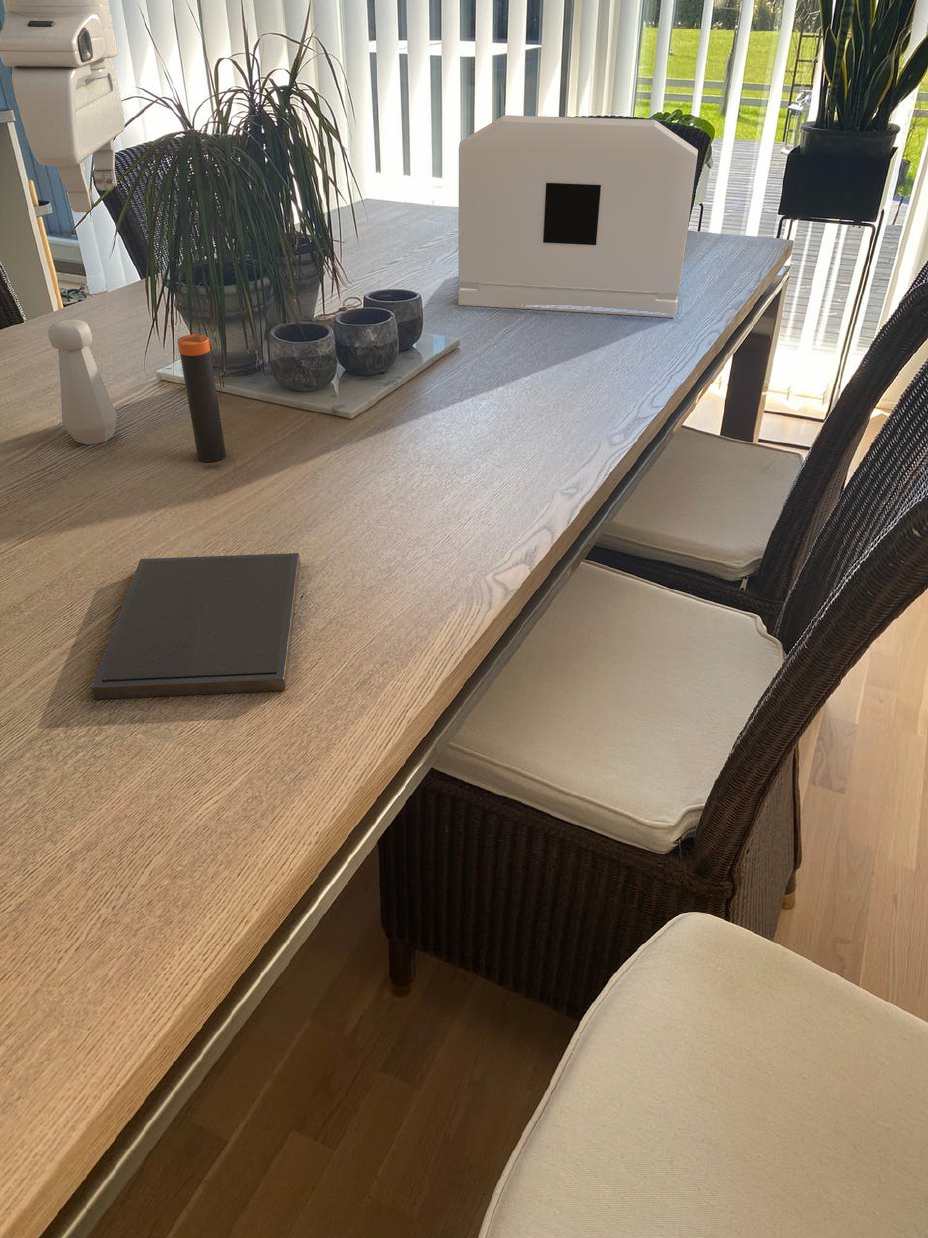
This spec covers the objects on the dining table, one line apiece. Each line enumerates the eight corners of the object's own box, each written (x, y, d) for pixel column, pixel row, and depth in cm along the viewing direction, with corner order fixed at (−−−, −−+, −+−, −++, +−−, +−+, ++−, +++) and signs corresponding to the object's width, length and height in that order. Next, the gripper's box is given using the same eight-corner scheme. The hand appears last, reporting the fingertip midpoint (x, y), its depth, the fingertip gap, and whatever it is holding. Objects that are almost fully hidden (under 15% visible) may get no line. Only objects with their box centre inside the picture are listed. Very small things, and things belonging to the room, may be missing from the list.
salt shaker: (63, 449, 105) (33, 333, 97) (70, 428, 109) (41, 316, 102) (118, 445, 106) (92, 329, 98) (123, 424, 110) (98, 312, 103)
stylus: (195, 463, 102) (174, 344, 95) (199, 450, 105) (179, 334, 97) (224, 462, 102) (206, 343, 95) (228, 449, 105) (210, 333, 97)
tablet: (94, 700, 70) (90, 686, 69) (142, 569, 85) (139, 557, 84) (285, 691, 71) (283, 677, 70) (300, 563, 86) (299, 551, 85)
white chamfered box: (675, 274, 162) (697, 99, 147) (675, 318, 143) (702, 122, 127) (482, 264, 167) (485, 93, 152) (458, 305, 147) (458, 114, 132)
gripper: (59, 25, 93) (89, 177, 101) (-11, 43, 77) (32, 224, 85) (124, 26, 94) (149, 177, 102) (68, 44, 77) (104, 224, 85)
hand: (95, 199), depth 93 cm, fingers open, 8 cm apart
